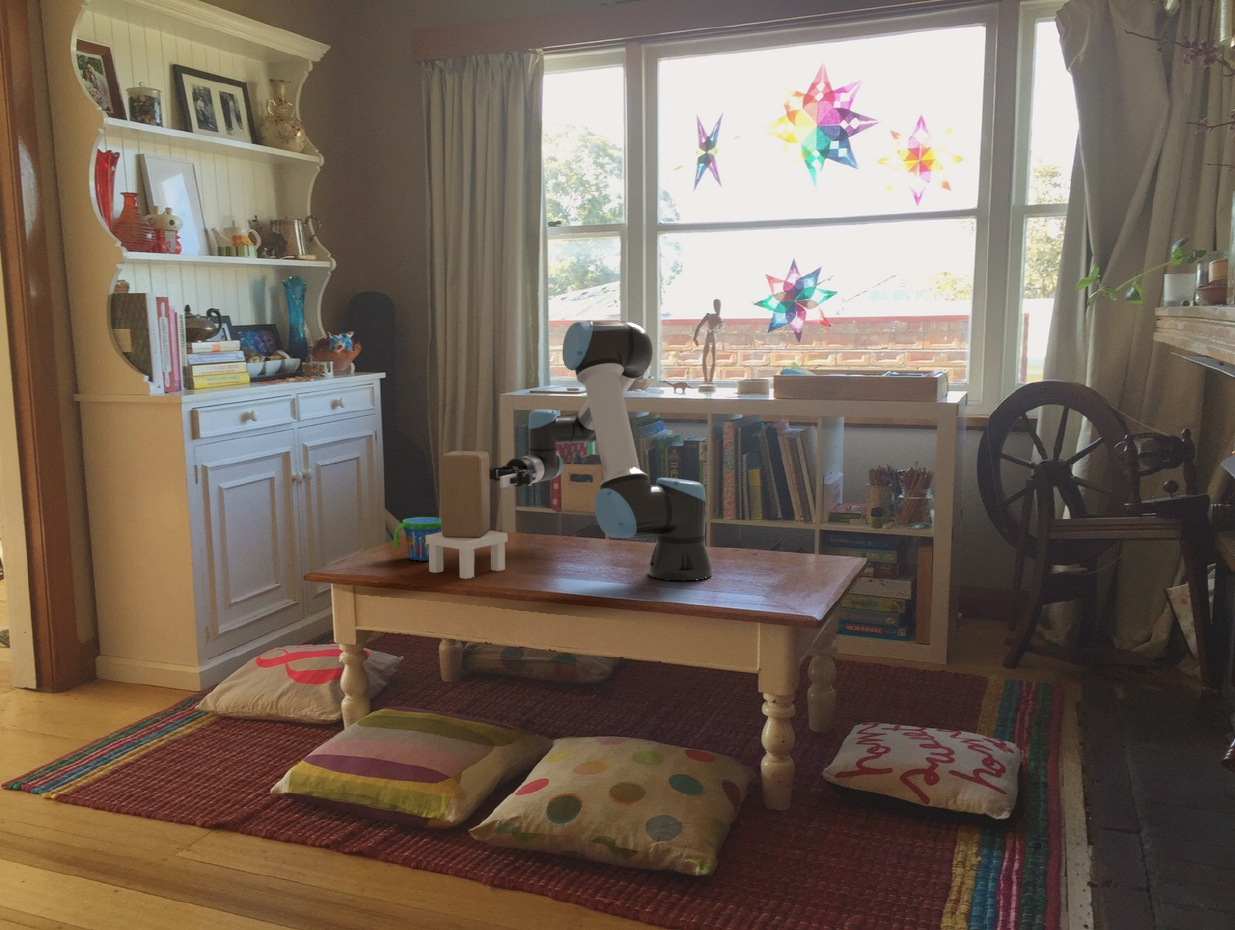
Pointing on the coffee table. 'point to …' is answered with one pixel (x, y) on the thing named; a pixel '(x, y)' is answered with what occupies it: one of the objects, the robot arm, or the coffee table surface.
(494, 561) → the footstool
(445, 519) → the block
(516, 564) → the coffee table surface
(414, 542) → the snack cup
